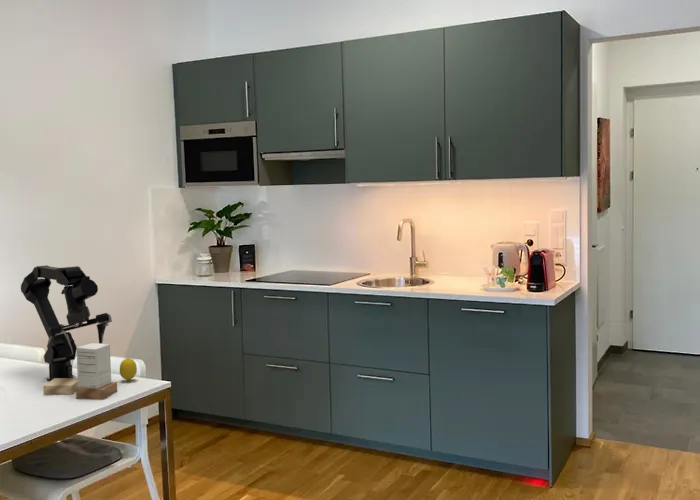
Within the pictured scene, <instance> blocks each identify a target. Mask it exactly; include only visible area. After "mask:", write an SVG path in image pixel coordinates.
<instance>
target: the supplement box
mask: <svg viewBox="0 0 700 500" xmlns="http://www.w3.org/2000/svg"><path fill="white" fill-rule="evenodd" d="M76 369H77V378H78V387H81V388H92V389H98V388H101V387H103V386H105V385H107V384H110V383H111V382H112V368H111V345H110V344H109V343H102V344H99V342H98V343H96V342H95V343H93V342H90V343H87V344H84V345H81V346H78V347H77V348H76Z"/></svg>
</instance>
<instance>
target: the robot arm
mask: <svg viewBox="0 0 700 500" xmlns="http://www.w3.org/2000/svg"><path fill="white" fill-rule="evenodd" d="M51 280H55V281H56V283H57V284H58V285H60V286H64V287H63V289H62V290H61V295H64V298H65V304H66V307H67V314H66V316H65V317H66V321H67V323H68V324H67V325H66V324H60V322H59V320H58V318H57V316H56V313H55V311H54V308H53V306H52V305H51V302H50V299H49V294H50V286H51V284H52V281H51ZM98 287H99V286H98V285H97V283H96V282H95V281H94V280H93V279H91V277H90V276H89V275H87V274H86V273H85V272H84V271H83V270H82V269H81V267H80V266H79V265H78V266H77V265H76V266H67V267H57V266H56V267H55V266H50V265H48V264H47V265H36V266H35V267H34V268H33V269H32V271H31V272H30V273H29V274H27V275H26V276H25V277H24V278H23V280H22V282H21V285H20V292H21V293H22V294H23V296H24V299H26V301H28V302H30V303H31V304H33V305H34V308H35V310H36V312H37V315H38V316H39V319H40V321H41V324H42V326H43V328H44V330H45V333H46V334H47V336H48V341H47V344H46V347H47V349H46V351H45V353H44V355H43V360H44V363H47V364H48V369H49V370H48V372H49V373H48V374H49V377H47V378H46V381H48V382H50V381H51V380H52V379H54V378H75V377H74V376H75V375H74V374H73V365H72V361H74V360H76V356H77V348H78V347H77V344H76V343H75V342H76V341H75V340H74V338H73V336H72V333H71V332H70V331H72V330H76V329H79V328H80V329H81V328H84V327H87V326H91V325H96V330H97V334H98V344H104V343H103V342H104V335H105V331H106V327H108V326H109V325H110V324H109V323H112V322H113V319H112V316H111V314H109V313H107V312H104V313H101V314H96V315H95V317H94V318H90V316H91V312H90V309H89V307H88V306H87V304H86V303H87V302H86V300H88V299H90V298H92V297H94V296H96V295H97V294H98V291H99V288H98Z"/></svg>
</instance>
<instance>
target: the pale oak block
mask: <svg viewBox="0 0 700 500" xmlns="http://www.w3.org/2000/svg"><path fill="white" fill-rule="evenodd" d="M77 388H79V387H78V377H72V378H54V379H52V380H51V381H48V382H47V383H45V384H44V385H43V396H69V395H70V396H71V395H74V394H75V393H76V389H77Z"/></svg>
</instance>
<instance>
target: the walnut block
mask: <svg viewBox="0 0 700 500" xmlns="http://www.w3.org/2000/svg"><path fill="white" fill-rule="evenodd" d="M117 392H118V382H117V381H111V383H110V384H107V385H105V386H103V387H101V388H98V389H92V388H81V387H79V388H77V389H76V392H75V393H76V394H75V399H76V398H80V400H106V399H107V398H109V397H110V396H112V395H113V394H115V393H117Z"/></svg>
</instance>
